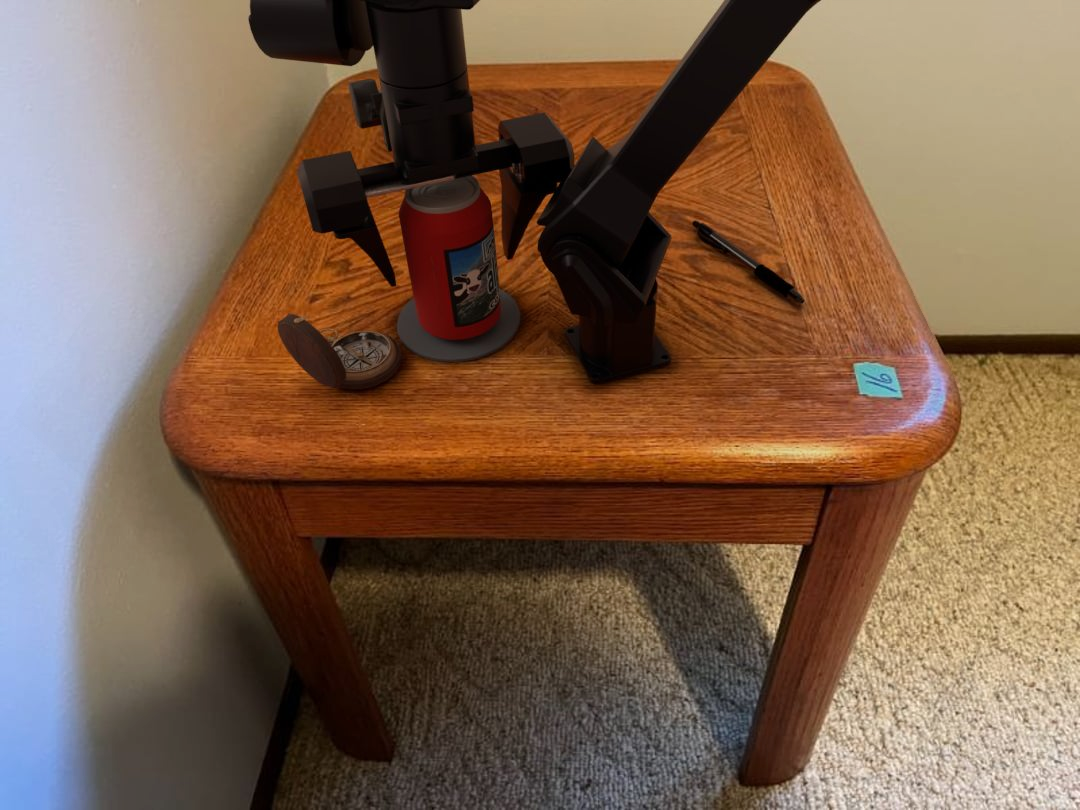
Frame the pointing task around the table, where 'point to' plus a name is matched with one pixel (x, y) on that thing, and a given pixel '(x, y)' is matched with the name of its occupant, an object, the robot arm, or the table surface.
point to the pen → (746, 261)
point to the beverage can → (451, 257)
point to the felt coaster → (458, 349)
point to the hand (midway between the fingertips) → (451, 269)
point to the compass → (340, 354)
